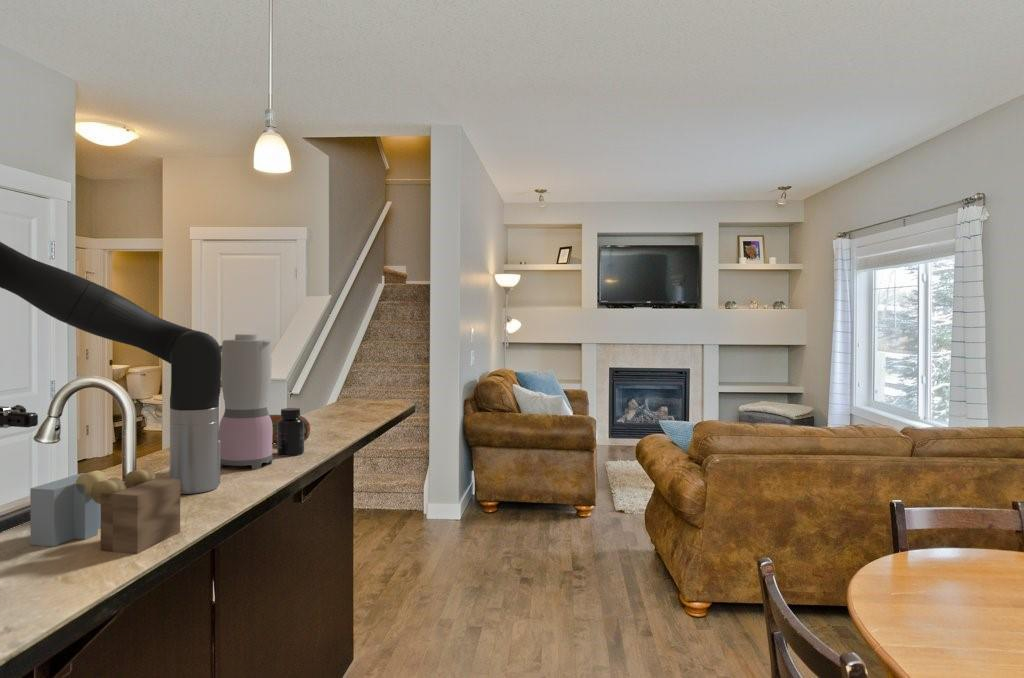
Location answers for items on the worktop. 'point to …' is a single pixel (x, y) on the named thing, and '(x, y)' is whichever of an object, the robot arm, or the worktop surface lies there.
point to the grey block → (65, 510)
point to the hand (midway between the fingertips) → (34, 420)
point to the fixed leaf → (137, 510)
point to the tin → (277, 417)
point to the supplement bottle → (290, 432)
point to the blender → (246, 401)
